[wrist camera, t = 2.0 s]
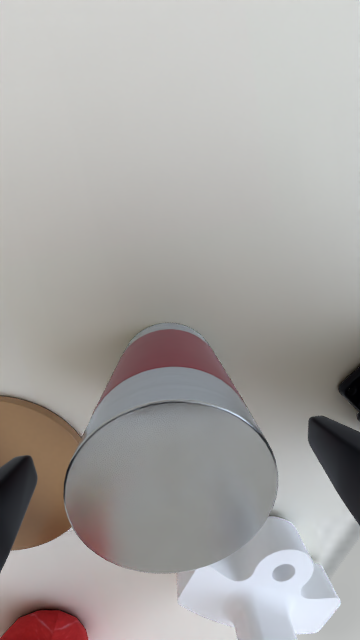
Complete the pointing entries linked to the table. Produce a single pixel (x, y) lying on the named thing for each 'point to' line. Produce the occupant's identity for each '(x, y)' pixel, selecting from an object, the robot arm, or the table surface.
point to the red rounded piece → (46, 627)
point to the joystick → (263, 587)
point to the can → (169, 460)
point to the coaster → (38, 465)
